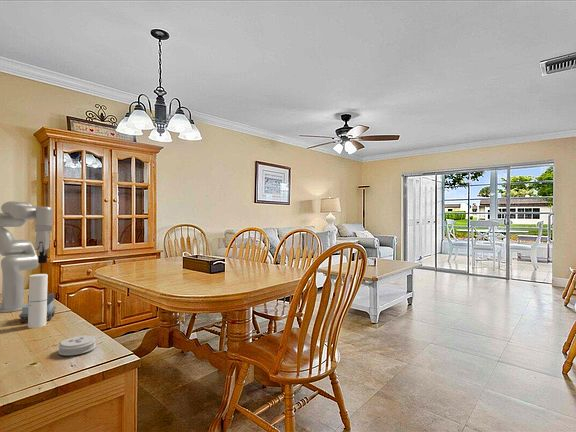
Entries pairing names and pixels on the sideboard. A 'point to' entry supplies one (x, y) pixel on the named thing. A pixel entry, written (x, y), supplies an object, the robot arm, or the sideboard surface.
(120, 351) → the sideboard surface
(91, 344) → the lid
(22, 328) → the sideboard surface
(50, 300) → the grey open box
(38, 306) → the cylindrical container
